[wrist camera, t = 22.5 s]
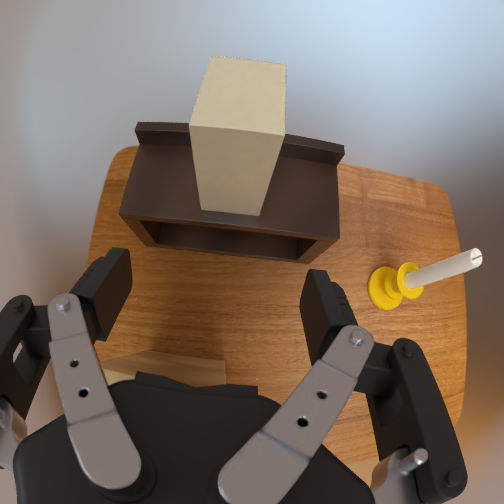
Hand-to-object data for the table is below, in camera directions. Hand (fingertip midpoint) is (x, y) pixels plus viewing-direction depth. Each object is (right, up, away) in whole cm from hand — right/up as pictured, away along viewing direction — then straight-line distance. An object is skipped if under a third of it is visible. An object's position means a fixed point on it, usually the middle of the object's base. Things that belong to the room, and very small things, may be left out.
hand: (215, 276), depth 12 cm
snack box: (0, +7, +10) cm, 12 cm away
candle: (+18, -3, +19) cm, 26 cm away
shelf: (-1, +5, +19) cm, 19 cm away
